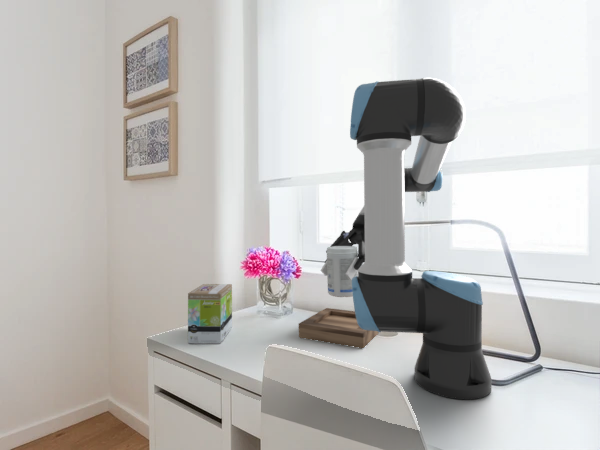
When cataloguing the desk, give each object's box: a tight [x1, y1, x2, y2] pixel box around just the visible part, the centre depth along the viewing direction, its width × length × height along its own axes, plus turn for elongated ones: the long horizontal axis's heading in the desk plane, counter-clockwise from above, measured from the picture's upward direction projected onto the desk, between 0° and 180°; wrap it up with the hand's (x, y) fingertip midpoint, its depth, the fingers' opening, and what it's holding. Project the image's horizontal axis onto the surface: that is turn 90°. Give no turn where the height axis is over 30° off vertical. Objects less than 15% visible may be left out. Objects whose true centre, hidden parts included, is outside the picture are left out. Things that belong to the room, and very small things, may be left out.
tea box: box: [187, 283, 233, 345], centre depth 109 cm, size 15×10×15 cm, turn 179°
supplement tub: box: [326, 245, 359, 298], centre depth 110 cm, size 10×10×15 cm
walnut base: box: [298, 307, 380, 349], centre depth 110 cm, size 20×20×4 cm
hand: (335, 275), depth 108 cm, fingers closed on supplement tub, 9 cm apart
